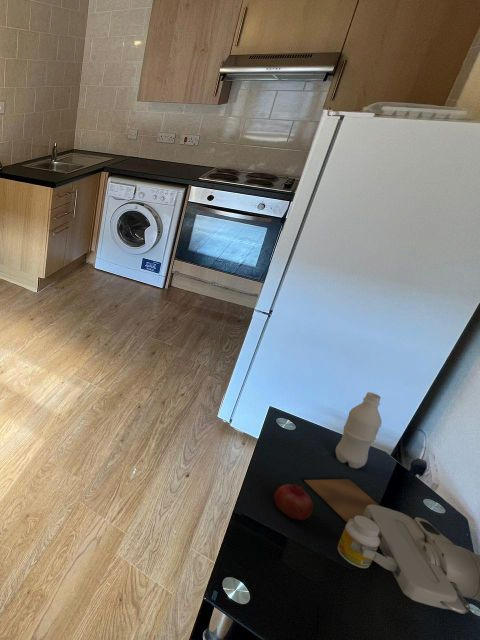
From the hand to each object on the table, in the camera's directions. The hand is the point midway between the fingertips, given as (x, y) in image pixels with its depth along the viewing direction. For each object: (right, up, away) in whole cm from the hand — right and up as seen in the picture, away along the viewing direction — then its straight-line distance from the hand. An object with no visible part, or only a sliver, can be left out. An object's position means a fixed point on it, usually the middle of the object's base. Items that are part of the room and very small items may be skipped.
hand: (355, 536), depth 88 cm
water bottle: (+36, -4, +39) cm, 53 cm away
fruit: (+3, -9, +21) cm, 23 cm away
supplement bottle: (+1, -6, +1) cm, 6 cm away
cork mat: (+22, -8, +24) cm, 34 cm away
